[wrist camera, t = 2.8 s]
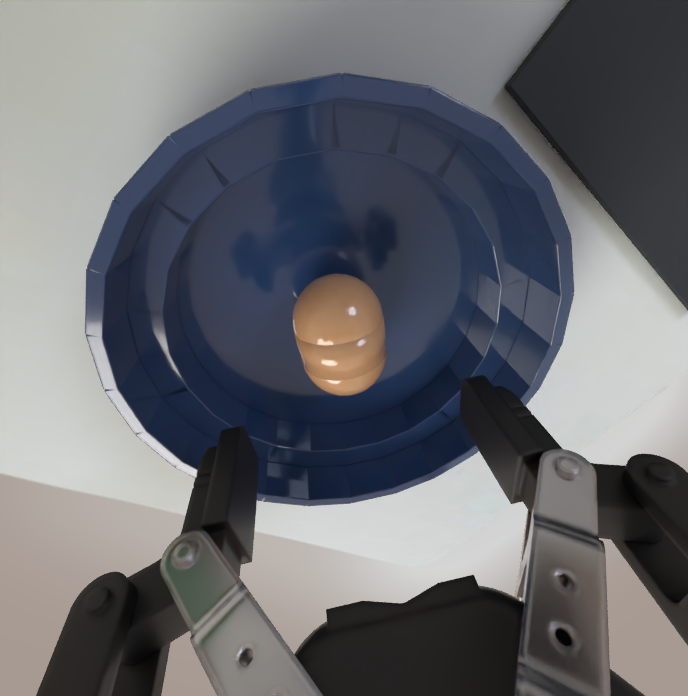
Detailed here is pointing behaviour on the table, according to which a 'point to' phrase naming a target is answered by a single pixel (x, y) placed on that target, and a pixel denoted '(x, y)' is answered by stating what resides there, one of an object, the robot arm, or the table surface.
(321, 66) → the table surface
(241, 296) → the basin
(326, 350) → the bread roll
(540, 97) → the mat
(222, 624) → the robot arm
